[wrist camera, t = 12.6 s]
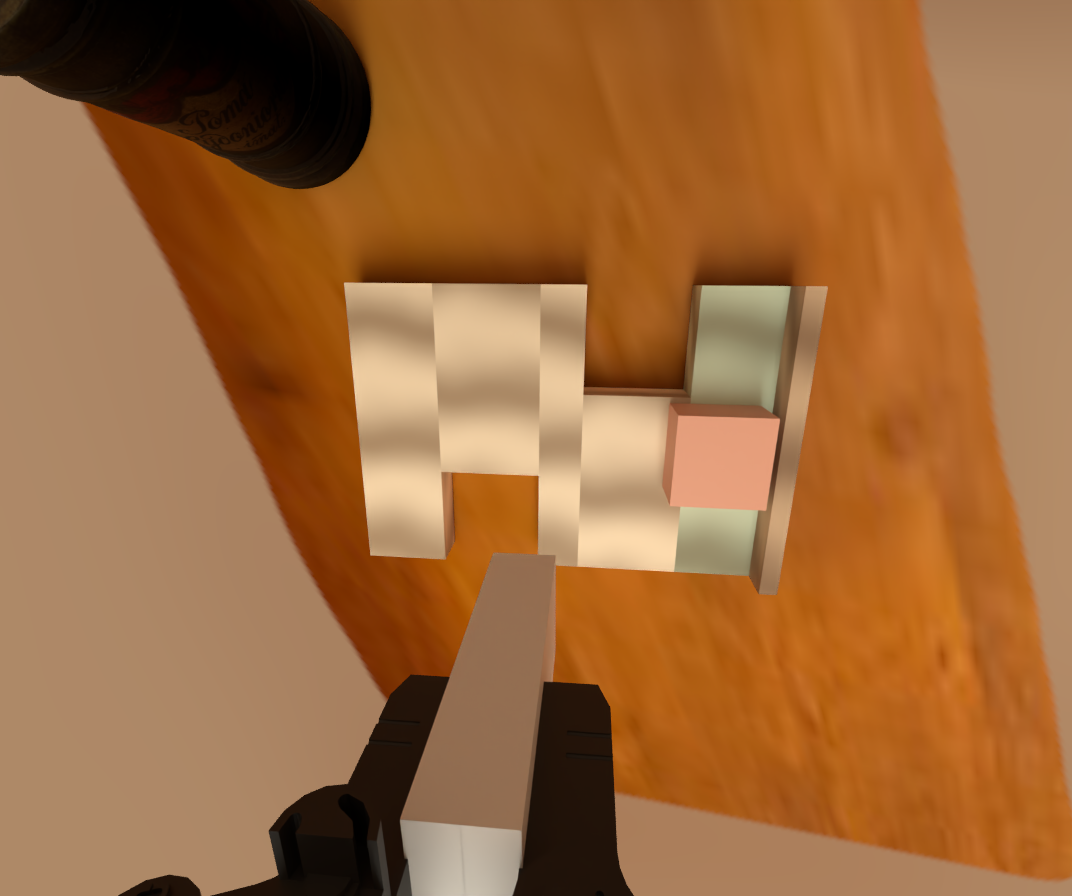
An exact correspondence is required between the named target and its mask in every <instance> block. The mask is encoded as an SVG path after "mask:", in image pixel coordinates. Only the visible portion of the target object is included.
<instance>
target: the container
mask: <svg viewBox="0 0 1072 896" xmlns="http://www.w3.org/2000/svg"><path fill="white" fill-rule="evenodd" d="M0 75H4V76H20V77H21V78H23V79H25V80H26V81H28V82H29V83H31V84H33V85H34V86H36V87H38V88H40V89H42V90H44V91H46V92H48V93H51V94H53V95H56V96H59V97H63V98H66V99H71V100H76V101H82V102H88V103H91V104H93V105H96V106H98V107H101V108H104V109H106V110H108V111H111V112H114V113H116V114H119V115H121V116H124V117H126V118H129V119H132V120H135V121H138V122H141V123H144V124H147V125H150V126H153V127H156V128H159V129H161V130H164V131H167V132H169V133H172V134H175V135H177V136H180V137H183V138H186V139H188V140H191V141H193V142H195V143H197V144H198V145H200V146H201V147H203V148H204V149H206V150H208V151H209V152H211V153H214V154H216V155H218V156H221V157H223V158H226V159H229V160H230V161H231V162H233V163H234V164H235V165H237V166H238V167H240V168H242V169H243V170H245V171H247V172H249V173H251V174H254V175H256V176H258V177H259V178H261V179H263V180H265V181H267V182H270V183H272V184H275V185H278V186H281V187H286V188H293V189H306V188H313V187H318V186H321V185H324V184H327V183H329V182H331V181H333V180H335V179H336V178H338V177H339V176H341V175H342V174H343V173H344V172H346V171H347V170H348V169H349V168H350V167H351V165H352V164H353V163H354V162H355V160H356V159H357V157H358V156H359V154H360V152H361V150H362V148H363V146H364V143H365V141H366V137H367V134H368V130H369V125H370V116H371V100H370V91H369V86H368V82H367V78H366V74H365V71H364V68H363V66H362V63H361V61H360V59H359V56H358V54H357V53H356V51H355V49H354V47H353V46H352V44H351V42H350V41H349V39H348V38H347V37H346V35H345V34H344V33H343V32H342V30H341V29H340V28H339V27H338V26H337V25H336V24H335V23H334V22H333V21H332V20H331V19H329V18H328V17H327V16H326V15H324V14H323V13H322V12H320V11H319V10H318V9H317V8H316V7H315V6H314V5H313V4H311V3H310V2H309V1H307V0H0Z"/></svg>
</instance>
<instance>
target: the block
mask: <svg viewBox="0 0 1072 896" xmlns="http://www.w3.org/2000/svg"><path fill="white" fill-rule="evenodd" d="M779 423H780V418H778V417H777V416H775V415H774V414H772V413H771V412H770V411H768V410H767V409H765V408H764V407H762V406H752V405H719V404H686V403H670V404H669V415H668V427H667V438H666V449H665V461H664V472H663V483H662V487H663V489H664V492H665V495H666V497H667V500H668V503H669V505H670V506H676V507H698V508H719V509H740V510H762V511H766V508H767V501H768V495H769V488H770V482H771V475H772V469H773V462H774V456H775V449H776V443H777V436H778V430H779Z"/></svg>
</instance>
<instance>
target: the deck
mask: <svg viewBox="0 0 1072 896" xmlns="http://www.w3.org/2000/svg"><path fill="white" fill-rule="evenodd" d="M344 286H345V297H346V307H347V317H348V328H349V338H350V348H351V359H352V369H353V379H354V390H355V400H356V410H357V421H358V431H359V441H360V451H361V462H362V472H363V482H364V493H365V503H366V513H367V524H368V534H369V544H370V555H376V556H395V557H413V558H431V559H446V557H447V555H448V553H449V552H450V550H451V548H452V546H453V544H454V542H455V534H454V511H453V487H452V472H458V473H483V474H508V475H534V476H539V512H538V555H556V565H560V566H578V567H597V568H615V569H634V570H652V571H670V572H689V573H707V574H726V575H744V576H749V577H750V579H751V581H752V582H753V584H754V586H755V588H756V590H757V592H758V593H759V594H767V595H777V591H778V585H779V579H780V573H781V567H782V561H783V555H784V549H785V543H786V536H787V530H788V524H789V518H790V512H791V506H792V500H793V494H794V488H795V482H796V476H797V470H798V464H799V458H800V452H801V446H802V440H803V434H804V428H805V422H806V416H807V410H808V403H809V397H810V391H811V385H812V379H813V373H814V367H815V361H816V355H817V349H818V343H819V337H820V331H821V325H822V319H823V313H824V307H825V301H826V295H827V289H828V286H711V285H693V289H692V300H691V311H690V321H689V332H688V343H687V354H686V365H685V376H684V387H683V389H650V388H609V387H584V363H585V334H586V306H587V285H579V284H446V283H344ZM670 403H686V404H719V405H752V406H762V407H764V408H765V409H767V410H768V411H770V412H771V413H772V414H774V415H775V416H777V417H778V418H780V423H779V430H778V436H777V443H776V449H775V456H774V462H773V469H772V475H771V482H770V488H769V495H768V501H767V508H766V511H762V510H740V509H719V508H698V507H676V506H670V505H669V503H668V500H667V497H666V495H665V492H664V489H663V487H662V483H663V472H664V461H665V449H666V438H667V427H668V415H669V404H670Z"/></svg>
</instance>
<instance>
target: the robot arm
mask: <svg viewBox="0 0 1072 896" xmlns="http://www.w3.org/2000/svg"><path fill="white" fill-rule="evenodd" d="M555 589H556V555H535V554H511V553H493V556H492V558H491V561H490V564H489V567H488V570H487V573H486V576H485V578H484V581H483V584H482V587H481V590H480V593H479V596H478V598H477V601H476V604H475V607H474V610H473V613H472V615H471V618H470V621H469V624H468V627H467V630H466V633H465V635H464V638H463V641H462V644H461V647H460V650H459V652H458V655H457V658H456V661H455V664H454V667H453V670H452V672H451V675H450V677H440V676H424V675H410V676H409V677H408V678H407V679H406V680H405V681H404V682H403V683H402V684H401V685H400V686H399V687H398V688H397V689H396V690H395V691H394V692H393V693H392V694H391V695H390V697H389V699H388V701H387V703H386V705H385V707H384V709H383V711H382V714H381V716H380V718H379V723H378V724H376V726H375V728H374V730H373V732H372V734H371V737H370V738H369V744H368V745H366V747H365V749H364V751H363V753H362V755H361V757H360V759H359V762H358V763H357V766H356V768H355V770H354V772H353V774H352V776H351V778H350V780H349V782H348V784H344V785H333V786H325V787H323V788H320V789H318V790H316V791H313V792H311V793H309V794H306V795H304V796H303V797H301V798H300V799H299V800H298V801H296V802H295V803H294V804H292V805H291V806H290V807H288V808H287V809H286V810H285V811H284V812H283V813H282V814H281V816H280V817H279V818H278V819H277V821H276V822H275V823H274V825H273V826H272V827H271V828H270V830H269V835H270V839H271V843H272V848H273V852H274V857H275V861H276V866H277V870H278V874H279V875H278V876H276V877H274V878H272V879H269V880H266V881H264V882H261V883H258V884H255V885H251V886H247V887H243V888H240V889H236V890H232V891H228V892H224V893H220V894H216V895H212V896H634V895H633V894H632V892H631V891H630V889H629V888H628V886H627V885H626V882H625V879H624V877H623V874H622V872H621V869H620V865H619V860H618V853H617V838H616V817H615V796H614V775H613V754H612V733H611V712H610V706H609V704H608V703H607V701H606V699H605V697H604V695H603V693H602V692H601V690H600V688H599V686H598V685H592V684H576V683H561V682H552V681H553V670H554V659H555ZM119 896H201V893H200V889H199V888H198V887H197V886H196V885H195V884H194V883H193V882H192V881H191V880H190V879H189V878H187V877H180V876H174V875H167V876H162V877H158V878H154V879H150V880H146V881H144V882H142V883H140V884H138V885H136V886H135V887H133V888H131V889H130V890H127V891H126V892H124V893H122V894H120V895H119Z"/></svg>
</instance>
